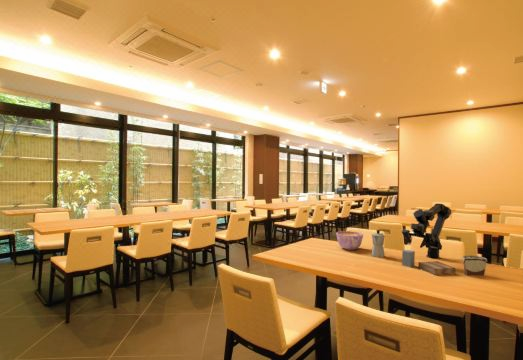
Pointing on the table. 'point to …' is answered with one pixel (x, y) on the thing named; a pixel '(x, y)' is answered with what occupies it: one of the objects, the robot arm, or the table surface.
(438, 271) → the walnut block
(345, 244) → the bowl of food
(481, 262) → the food container
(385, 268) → the table surface
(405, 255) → the slate block
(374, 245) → the coffee maker
